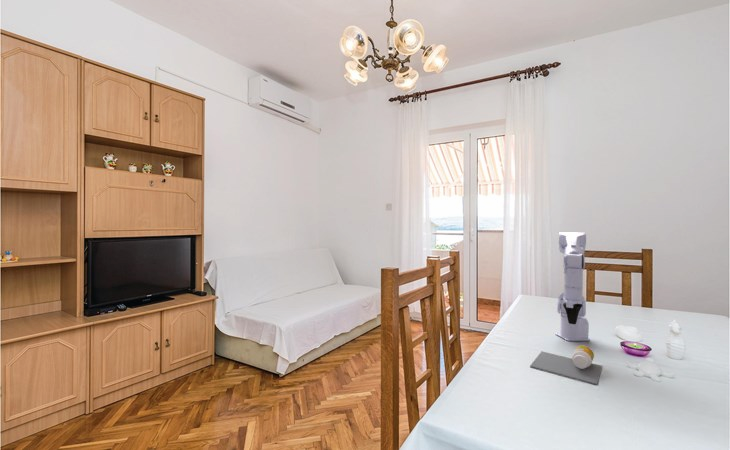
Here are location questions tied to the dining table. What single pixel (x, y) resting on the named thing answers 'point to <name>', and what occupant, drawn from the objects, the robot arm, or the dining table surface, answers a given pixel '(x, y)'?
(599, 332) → the dining table surface
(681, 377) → the dining table surface
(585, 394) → the dining table surface
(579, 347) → the supplement bottle
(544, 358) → the slate mat
